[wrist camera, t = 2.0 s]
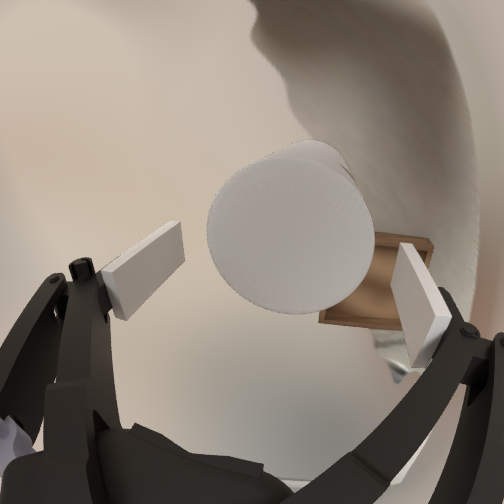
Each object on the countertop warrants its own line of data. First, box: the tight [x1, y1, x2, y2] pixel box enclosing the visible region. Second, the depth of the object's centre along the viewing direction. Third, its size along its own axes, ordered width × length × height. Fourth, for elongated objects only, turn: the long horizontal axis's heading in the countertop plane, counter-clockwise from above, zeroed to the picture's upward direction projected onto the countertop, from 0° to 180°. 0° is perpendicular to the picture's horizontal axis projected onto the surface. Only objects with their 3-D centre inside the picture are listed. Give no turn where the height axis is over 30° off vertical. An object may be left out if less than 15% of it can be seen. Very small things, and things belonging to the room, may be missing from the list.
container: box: [207, 140, 375, 314], centre depth 24 cm, size 10×10×20 cm
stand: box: [318, 232, 434, 330], centre depth 35 cm, size 14×14×2 cm
